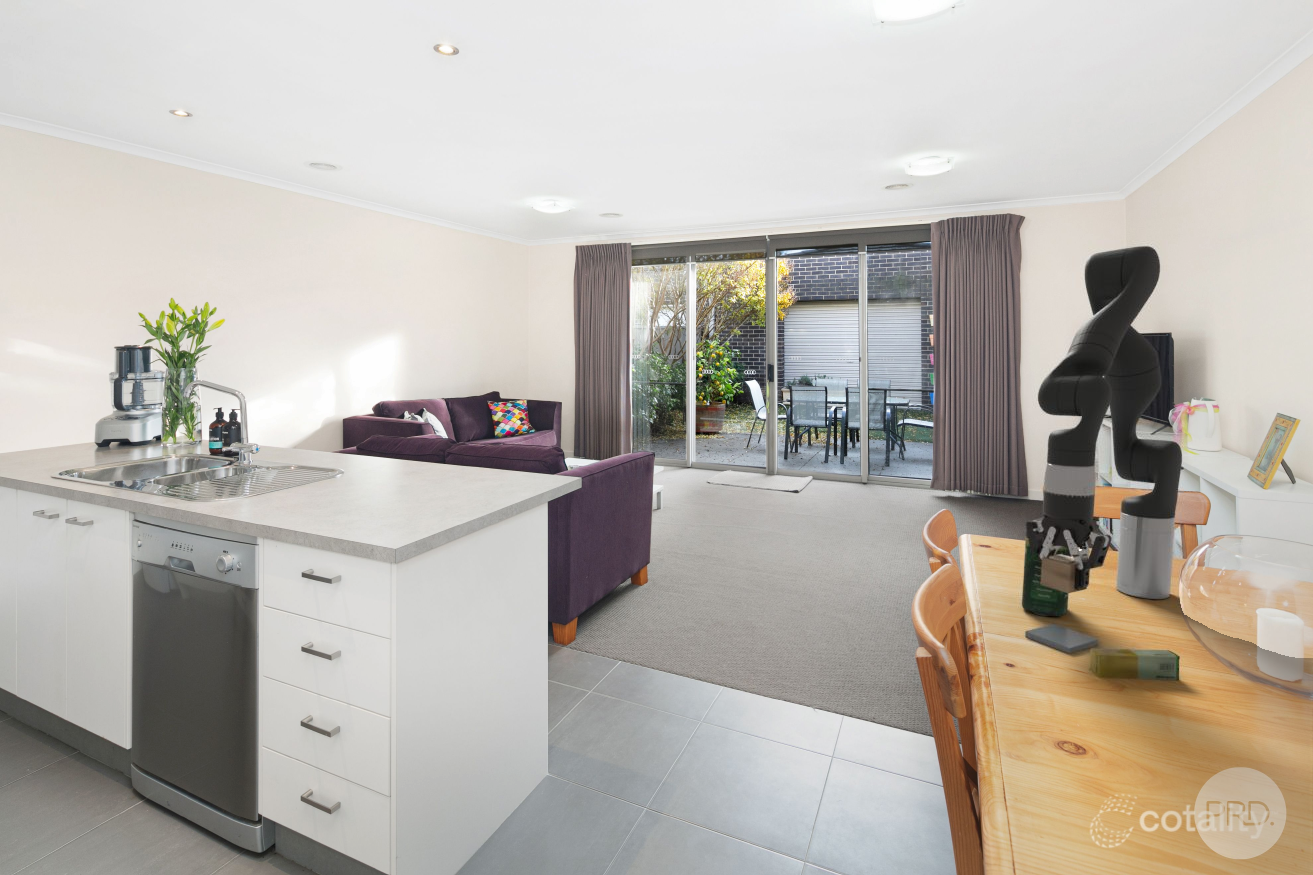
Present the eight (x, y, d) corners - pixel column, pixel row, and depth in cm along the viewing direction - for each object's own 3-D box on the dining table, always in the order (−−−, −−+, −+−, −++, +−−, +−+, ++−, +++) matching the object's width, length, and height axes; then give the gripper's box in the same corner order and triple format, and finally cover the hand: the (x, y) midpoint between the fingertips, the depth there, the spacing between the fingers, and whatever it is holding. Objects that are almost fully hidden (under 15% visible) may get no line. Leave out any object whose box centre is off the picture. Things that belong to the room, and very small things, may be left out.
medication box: (1168, 673, 102) (1170, 649, 102) (1180, 681, 100) (1181, 656, 99) (1088, 670, 104) (1089, 646, 103) (1097, 678, 101) (1098, 653, 101)
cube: (1058, 580, 117) (1060, 552, 117) (1086, 588, 112) (1088, 560, 112) (1040, 584, 115) (1042, 556, 114) (1068, 593, 110) (1070, 563, 110)
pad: (1053, 628, 120) (1053, 623, 120) (1098, 644, 113) (1098, 639, 113) (1025, 636, 117) (1025, 631, 117) (1069, 653, 109) (1069, 647, 109)
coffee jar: (1065, 621, 124) (1070, 526, 122) (1018, 612, 128) (1022, 521, 127) (1070, 606, 131) (1075, 517, 129) (1026, 598, 136) (1030, 512, 134)
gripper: (1126, 494, 107) (1119, 593, 109) (1043, 482, 120) (1038, 570, 122) (1098, 498, 104) (1092, 600, 106) (1016, 485, 117) (1012, 576, 119)
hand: (1063, 583), depth 114 cm, fingers closed on cube, 5 cm apart
